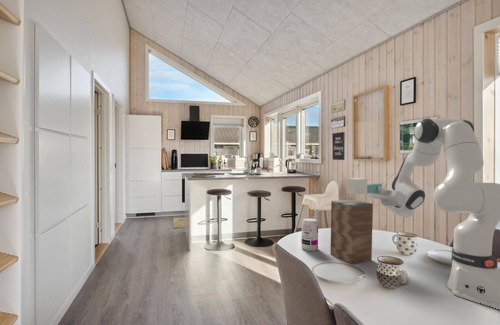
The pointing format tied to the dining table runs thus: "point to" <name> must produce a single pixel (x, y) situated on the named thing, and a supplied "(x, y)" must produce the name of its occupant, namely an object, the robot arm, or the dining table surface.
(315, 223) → the supplement can
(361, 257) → the pedestal
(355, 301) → the dining table surface
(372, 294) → the dining table surface
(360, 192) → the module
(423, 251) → the dining table surface
